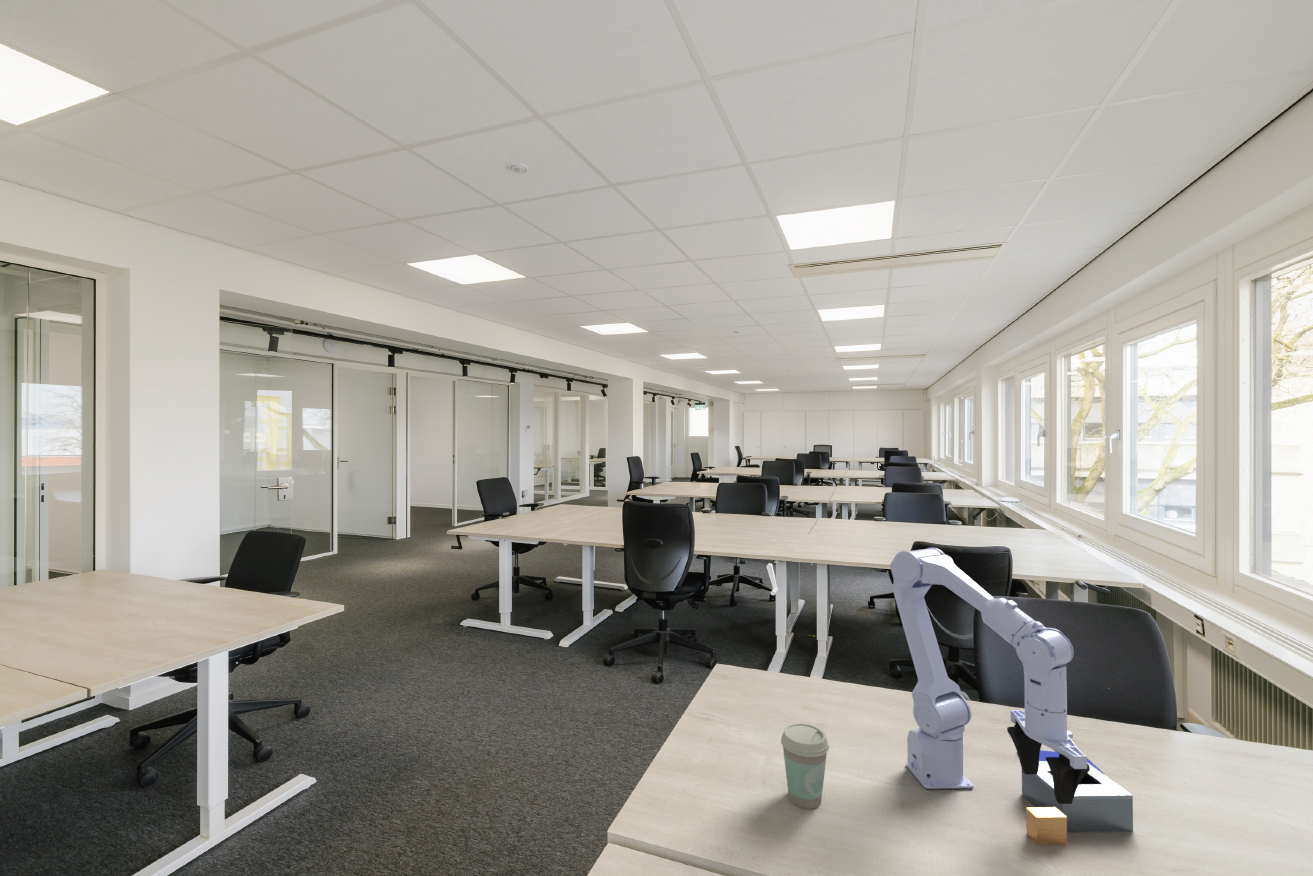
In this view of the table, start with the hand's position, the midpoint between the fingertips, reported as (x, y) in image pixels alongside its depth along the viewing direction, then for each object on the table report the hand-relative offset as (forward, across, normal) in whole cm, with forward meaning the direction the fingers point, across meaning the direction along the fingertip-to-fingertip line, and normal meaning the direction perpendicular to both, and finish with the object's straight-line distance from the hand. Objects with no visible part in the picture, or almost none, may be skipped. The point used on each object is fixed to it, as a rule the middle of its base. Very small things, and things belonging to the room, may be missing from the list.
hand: (1046, 787), depth 90 cm
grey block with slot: (+8, +7, -10) cm, 15 cm away
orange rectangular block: (+9, 0, 0) cm, 9 cm away
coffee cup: (+9, +11, +37) cm, 40 cm away
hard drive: (+9, +20, -18) cm, 28 cm away
